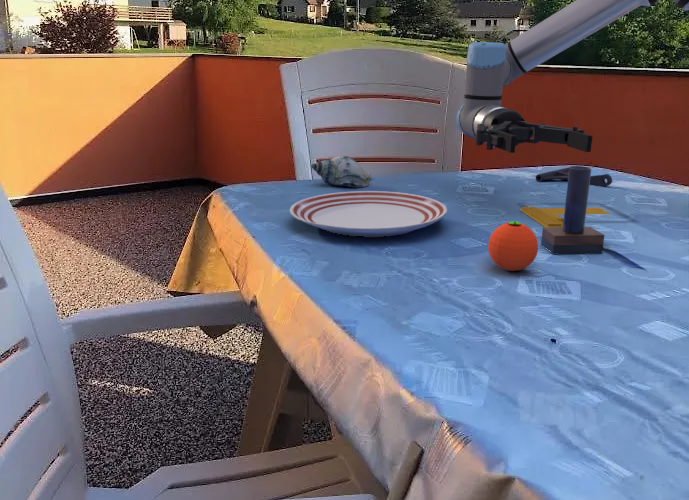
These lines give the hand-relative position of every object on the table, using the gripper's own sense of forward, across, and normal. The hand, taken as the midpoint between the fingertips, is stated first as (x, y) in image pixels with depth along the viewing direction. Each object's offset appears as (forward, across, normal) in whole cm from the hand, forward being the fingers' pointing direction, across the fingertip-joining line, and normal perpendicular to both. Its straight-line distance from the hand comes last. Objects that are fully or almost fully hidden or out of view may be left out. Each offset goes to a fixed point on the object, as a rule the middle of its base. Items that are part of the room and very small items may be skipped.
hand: (551, 144), depth 117 cm
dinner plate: (-10, +28, -16) cm, 34 cm away
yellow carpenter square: (-8, -11, -15) cm, 20 cm away
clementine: (+18, +14, -15) cm, 27 cm away
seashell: (-44, +26, -16) cm, 53 cm away
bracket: (-41, -30, -15) cm, 53 cm away
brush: (+10, 0, -15) cm, 18 cm away
